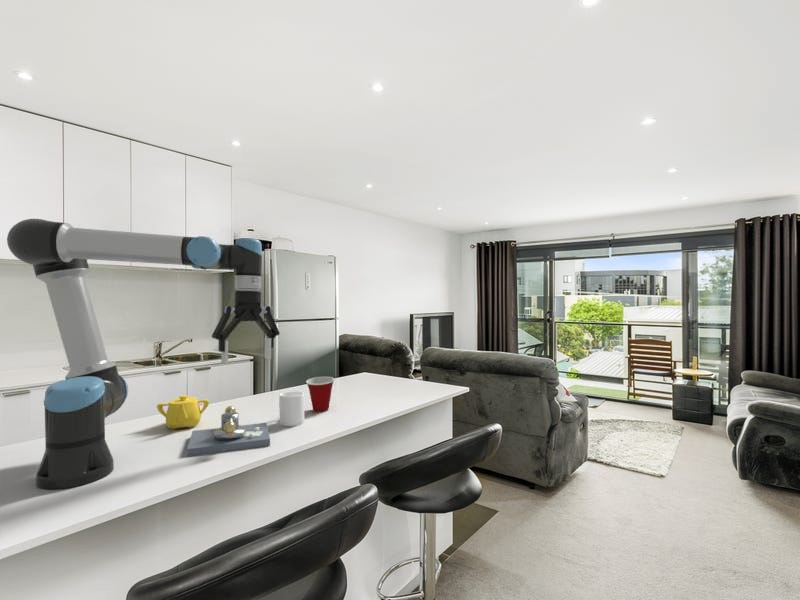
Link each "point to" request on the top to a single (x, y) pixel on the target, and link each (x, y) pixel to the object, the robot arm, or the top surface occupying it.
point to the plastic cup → (320, 392)
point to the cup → (291, 408)
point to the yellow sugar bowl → (183, 411)
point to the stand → (228, 440)
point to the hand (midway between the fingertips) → (246, 360)
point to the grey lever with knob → (229, 425)
